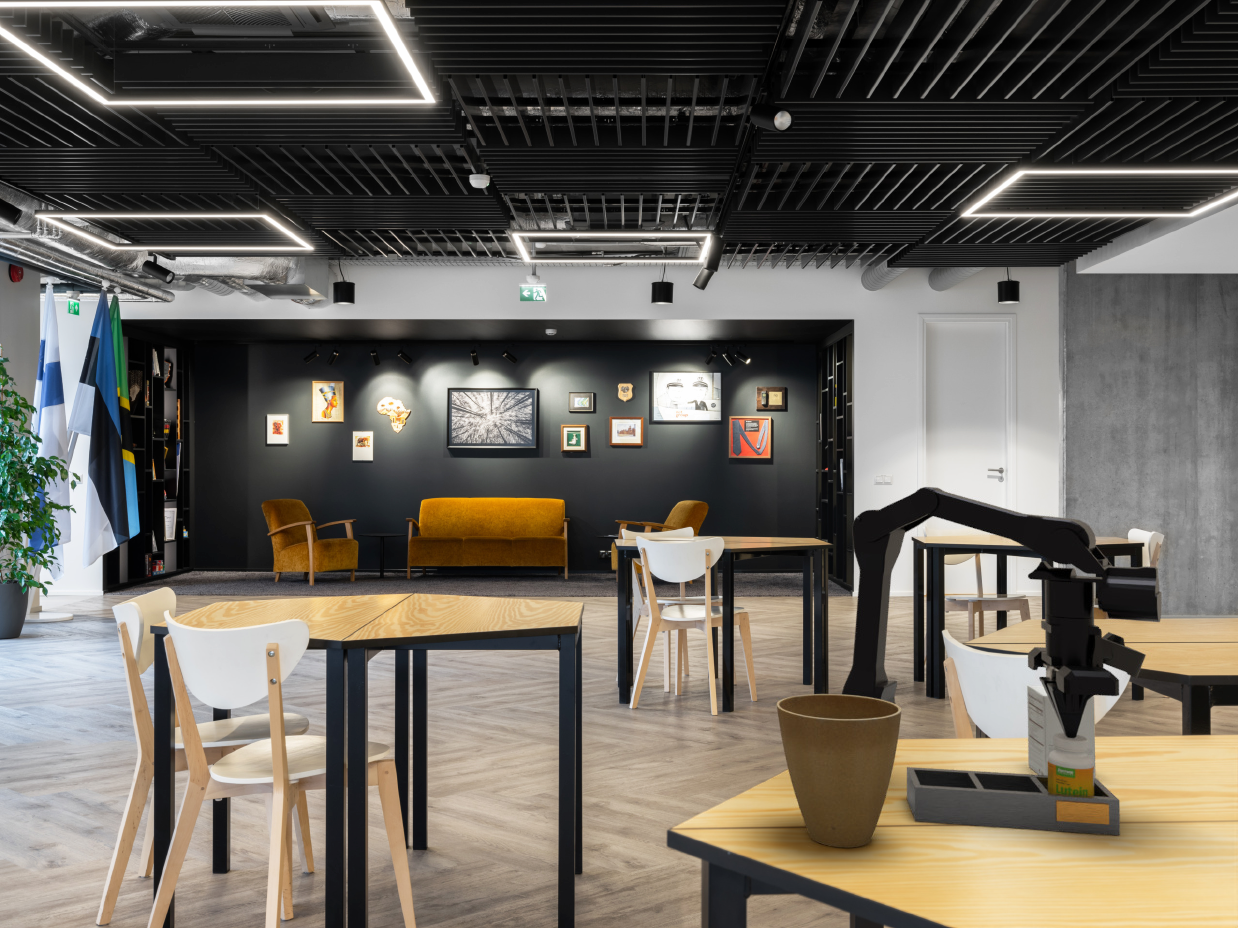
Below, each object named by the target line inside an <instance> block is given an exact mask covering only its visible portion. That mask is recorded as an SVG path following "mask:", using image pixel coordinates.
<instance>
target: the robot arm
mask: <svg viewBox="0 0 1238 928" xmlns="http://www.w3.org/2000/svg"><path fill="white" fill-rule="evenodd" d="M933 517H936V518H937V519H942V520H944V521H947V522H951V523H953V524H958V525H961V526H965V527H967V528H972V529H975V530H979V531H981V532H986V533H989V534H991V535H995V536H998V537H1002V538H1005V539H1008V540H1011V541H1014V542H1016V543H1017V544H1019V545H1021V546H1023V547H1025V548H1026V549H1028V550H1029V551H1032V552H1033V553H1035V554H1037V555H1038V556H1039V555H1040V556H1041V557H1043V558H1046V560H1047V559H1048V560H1049V561H1052V562H1054V563H1056V564H1059V565H1065V566H1067V565H1072V566H1074V567H1075V568H1076V569H1078V570H1080V572H1083V573H1084V574H1090V575H1101V576H1084V575H1077V571H1076V569H1075V568H1073V567H1056V566H1055V567H1054V566H1051V565H1050V564H1049V563H1048V562H1047V561H1045V560H1043V561H1040V562H1039V564H1038V566H1037V567H1036V568H1035V569H1034V570H1033V571H1031V572H1029V573H1028V574H1027V579H1029V580H1035V581H1036V580H1037V581H1044V611H1045V612H1044V619H1045V620H1041V621H1040V628H1041V629H1042V630H1044V632H1045V634H1044V635H1045V637H1044V638H1045V647H1039V646H1037V647H1036V646H1035V647H1033V648H1032V649H1031V650H1030V651H1028V653H1027V667H1028V668H1029V669H1030V670H1032V671H1038V669H1039V668H1045V676H1039V681H1040V682H1041V684H1042V685H1041V686H1043V687H1044V689H1045V691H1046V693H1047V696H1048V698H1049V700H1050V702H1051V704H1052V707H1053V709H1054V711H1055V713H1056V715H1057V718H1058V720H1059V722H1060V725H1061V727H1062V729H1063V731H1064V734H1065V735H1066V736H1067V737H1068V738H1075V737H1076V736H1077V732H1078V729H1079V726H1080V722H1081V719H1082V716H1083V712H1084V709H1085V706H1086V704H1087V701H1088V700H1089V699H1090V698H1091V697H1094V696H1105V697H1110V696H1111V697H1119V696H1120V679H1119V678H1118V677H1117V676H1115V675H1114V674H1113V673H1112V671H1110V670H1108V669H1106V668H1105V667H1104V665H1106V666H1109V667H1112V668H1114V669H1117V670H1119V671H1122V672H1125V673H1126V674H1127V675H1128V676H1131V677H1134V678H1138V676H1139V673H1140V672H1141V669H1142V667H1143V664H1144V661H1145V659H1146V656H1147V655H1146V654H1145V653H1143V652H1140V651H1138V650H1136V649H1134V648H1131V647H1128V646H1126V644H1125V638H1124V637H1122V636H1120V635H1117V634H1115V633H1112V632H1109V631H1108V632H1107V633H1106V634H1104V635H1103V633H1102V629H1101V628H1100V626H1098V625H1096V624H1095V595H1094V594H1095V593H1094V592H1095V591H1094V589H1095V587H1094V584H1095V583H1096V584H1097V607H1098V610H1100V611H1102V612H1103V613H1106V614H1107V618H1108V619H1110V620H1121V621H1122V620H1125V621H1136V622H1137V621H1138V622H1150V623H1152V622H1153V623H1160V622H1161V618H1162V591H1160V581H1159V575H1158V574H1159V568H1158V567H1157V566H1140V567H1131V566H1130V567H1129V566H1113V564H1112V563H1111V562H1110V561H1109V559H1108V558H1107V557H1106V556H1105V555H1104V554H1103V553H1102V551H1101V550H1100V549H1099V547H1098V546H1097V545H1096V544H1097V543H1096V541H1097V540H1096V534H1095V533H1094V531H1093V529H1092V528H1091V526H1090V525H1089V524H1087V523H1086V522H1085V521H1083V520H1080V519H1076V518H1068V517H1067V518H1066V517H1059V516H1058V517H1057V516H1050V515H1049V516H1048V515H1038V514H1030V513H1028V514H1026V513H1023V512H1020V511H1019V512H1018V511H1015V510H1012V509H1009V508H1005V507H1001V506H997V505H994V504H991V503H986V502H982V501H980V500H977V499H973V498H969V497H965V496H963V495H958V494H955V493H952V492H947V491H944V490H943V489H941V488H939V487H932V486H924V487H920V488H919V489H917V490H915V492H913V493H912V494H909V495H907V496H906V497H903V498H901V499H899V500H897V501H894V502H892V503H889V504H888V505H885V506H884V507H882V508H881V509H867V510H864V511H862V512H860V513H859V514H858V515H857V516H856V517H855V518H854V519H853V522H852V525H851V535H852V543H853V544H852V545H853V546H852V547H853V553H854V554H855V555H854V556H855V558H856V562H857V566H858V570H859V577H858V588H857V605H856V617H855V628H854V642H853V643H854V644H853V655H852V656H853V658H852V666H851V669H850V671H849V673H848V675H847V678H846V679H845V681H844V684H843V688H842V692H841V694H840V695H854V696H863V697H870V698H875V699H880V700H884V701H888V702H891V703H894V704H896V699H895V698H896V697H895V696H896V690H897V687H898V681H897V680H889V679H888V676H887V673H886V669H885V662H886V661H885V658H886V648H887V647H886V646H887V634H888V622H889V610H890V609H889V608H890V594H891V581H892V572H893V569H894V567H895V565H896V563H897V561H898V557H899V556H900V554H901V549H902V547H903V543H904V539H905V538H904V537H905V534H906V533H907V532H909V531H912V530H913V529H915V528H916V527H918V526H920V525H921V524H923V523H925V522H926V521H928V520H930V518H933ZM1102 635H1103V636H1102Z"/></svg>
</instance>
